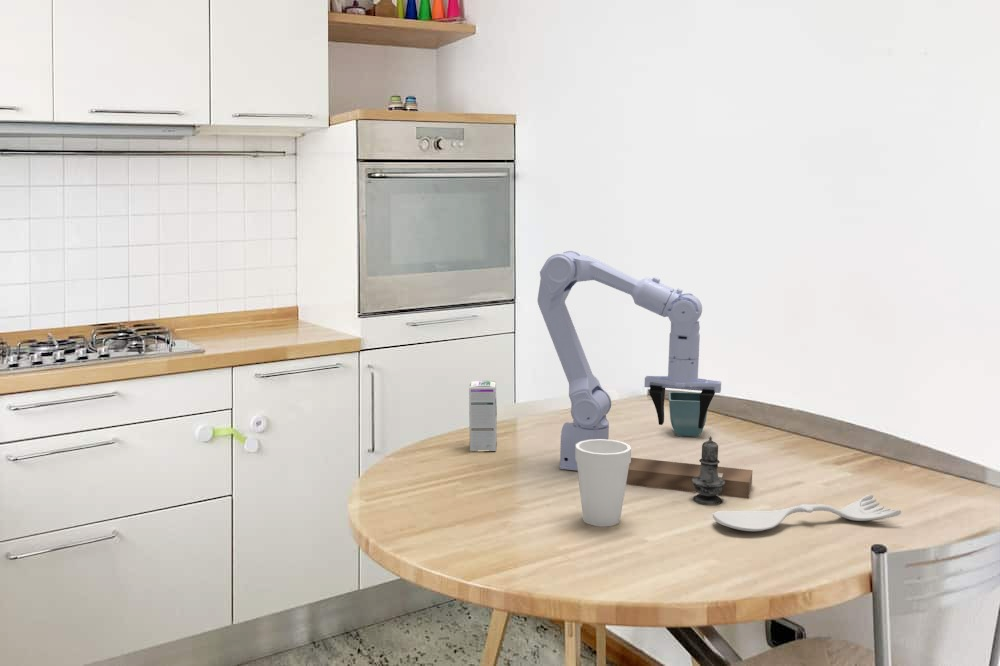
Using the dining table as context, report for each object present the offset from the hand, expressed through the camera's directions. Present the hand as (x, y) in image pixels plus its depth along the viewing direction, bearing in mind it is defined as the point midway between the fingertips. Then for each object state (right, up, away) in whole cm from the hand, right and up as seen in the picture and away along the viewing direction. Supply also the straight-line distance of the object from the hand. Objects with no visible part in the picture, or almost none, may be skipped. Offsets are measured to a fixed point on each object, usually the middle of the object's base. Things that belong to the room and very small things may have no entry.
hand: (680, 425), depth 183 cm
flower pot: (+8, -6, +33) cm, 35 cm away
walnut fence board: (0, -11, -3) cm, 11 cm away
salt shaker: (+3, -13, -12) cm, 17 cm away
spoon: (+16, -15, -23) cm, 32 cm away
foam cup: (-18, -14, -23) cm, 32 cm away
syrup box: (-39, -7, +20) cm, 45 cm away
